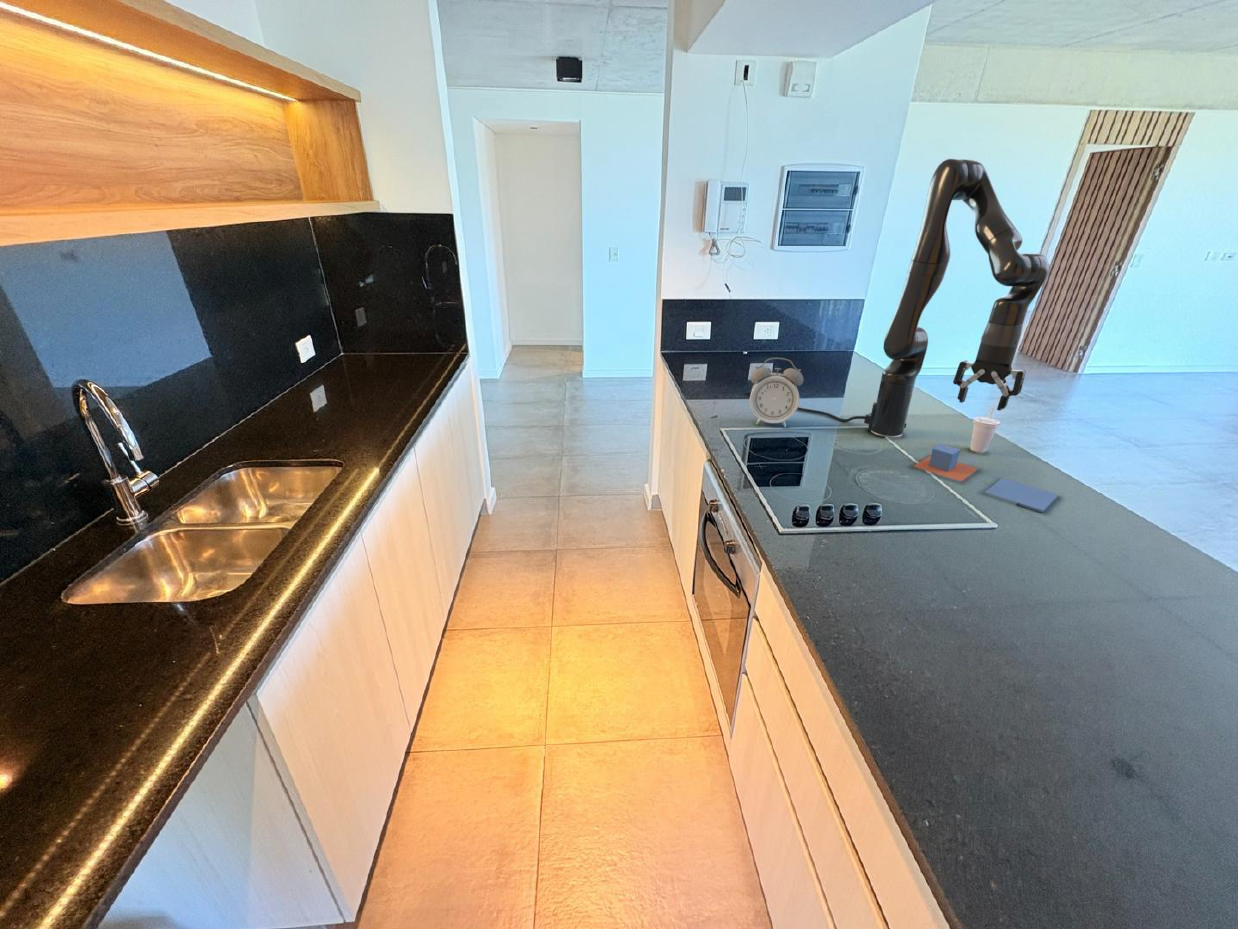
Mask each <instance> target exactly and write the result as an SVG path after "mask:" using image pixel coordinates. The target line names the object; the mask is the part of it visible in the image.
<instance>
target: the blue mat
mask: <svg viewBox="0 0 1238 929" xmlns="http://www.w3.org/2000/svg"><path fill="white" fill-rule="evenodd" d="M984 493H985V494H989V495H992V496H995V497H999V498H1001V499H1005V500H1008V501H1011V502H1014V503H1016V505H1017V506H1020V507H1023V508H1026V509H1029V510H1032V511H1035V512H1039V513H1042V514H1043V513H1044V512H1045V511H1046V510H1047V509H1048V508H1049V507H1050V506H1051V505H1052V504H1053V503H1054V502H1055V501H1056V499H1058V497H1059V494H1056V493H1054V492H1050V491H1046V490H1043V489H1040V488H1036V487H1033V486H1030V485H1026V484H1022V483H1019V482H1016V481H1013V480H1009V479H1007V478H1000V479H999V480H998V481H996V482H995V483H994V484H993V485H991V486H990V487H989V488H988V489H987V490H985V491H984Z"/></svg>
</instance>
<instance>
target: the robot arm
mask: <svg viewBox="0 0 1238 929" xmlns="http://www.w3.org/2000/svg"><path fill="white" fill-rule="evenodd" d="M928 185H929V186H928V188H927V189H928V190H927V194H926V199H925V205H924V209H923V210H924V211H923V216H922V220H921V224H920V228H919V231H918V235H917V239H916V243H915V246H914V249H913V253H912V255H911V258H910V261H909V264H908V268H907V271H906V275H905V280H904V283H903V286H902V290H901V294H900V295H899V299H898V302H897V306H896V309H895V312H894V314H893V316H892V318H891V321H890V324H889V326H888V328H887V332H886V334H885V336H884V340H883V352H884V354H885V355H886V357H887V358H889V360H891V361H890V363H889V364H888V365H887V366H886V367H885V368H884V369H883V370H882V374H881V377H880V383H879V387H878V393H877V397H876V401H874V402H873V403H872V408H871V412H869V413H867V414H865V415H855V416H851V417H849V418H841V417H838V416H836V415H834V414H832V413H830V412H826V411H822V410H817V409H811V408H803V407H799V406H798V408H797V410H796V411H801V412H807V413H813V414H819V415H824V416H826V417H830V418H832V419H835V420H836V421H839V422H843V423H848V422H851V421H853V420H864V421H863V423H864V424H867V425H868V426H867V432H869V433H871V434H872V435H874V436H877V437H880V438H883V439H884V438H900V437H902V436H904V430H905V429H906V427H907V423H906V421H907V418H908V413H909V409H910V406H911V401H912V397H913V392H914V388H915V384H916V379H917V377H918V376H919V374H920V373H921V371H922V368H923V365H924V360H925V358H926V354H927V350H928V346H929V336H928V332H927V331H926V330H925V328H923V327H921V326H919V323H920V319H921V316H922V314H923V312H924V310H925V309H926V307H927V305H928V304H929V303H930V301H931V300H932V299H933V297H934V296H935V294H936V293H937V291H938V290H939V288H940V286H941V285H942V283H943V281H944V278H945V275H946V273H947V269H948V267H949V263H950V260H951V254H952V253H951V252H952V251H951V244H950V240H949V234H948V228H947V227H948V226H947V223H948V216H949V212H950V208H951V205H952V202H953V201H956V202H958V201H962V202H963V203H964V204H965V205H966V206H967V207H968V208H969V209H970V210H971V211H972V213H973V217H974V219H973V231H974V234H975V238H976V240H977V241H978V243H979V244H980V246H981V247H982V249H983V250H984V252H985V253H986V255H987V257H988V263H989V266H990V271H991V275H992V277H993V279H994V280H995V281H996V283H998V284H999V285H1001V286H1003V287H1010V289H1009V291H1008V292H1007V294H1005V295H1003V296H999V297H998V298H996V299H995V300H994V302H993V303H992V306H991V309H990V314H989V315H988V320H987V323H986V325H985V327H984V329H983V333H982V335H981V338H980V343H979V346H978V350H977V353H976V357H975V360H974V362H971V361H968V360H962V361H960V362H959V364H958V367H957V370H956V372H955V375H954V378H953V381H952V383H953V385H957V386H958V387H959V391H958V395H957V401H958V400H959V401H958V402H959V403H961V404H963V403H965V401H966V399H967V394H968V391H969V386H970V385H971V384H972V383H974V382H976V381H977V382H978V383H982V384H983V383H987V384H989V385H991V386H992V385H996V386H997V388H998V389H999V391H1000V393H1001V394H1002V395H1000V399H999V401H998V405H997V407H996V410H997V411H1002V410H1005V408H1006V407H1007V406H1008V403H1009V400H1010V397H1012V396H1014V397H1017V396H1018V395H1020V394H1021V392H1022V389H1023V386H1024V381H1025V377H1026V374H1027V371H1026V370H1025V369H1021V370H1019V369H1013V368H1012V366H1013V363H1014V362H1013V361H1014V359H1015V356H1016V352H1017V349H1018V346H1019V342H1020V339H1021V336H1022V332H1023V326H1024V324H1025V319H1026V317H1027V314H1028V310H1029V307H1030V305H1031V304H1032V302H1033V301H1034V299H1036V296H1037V295H1038V293H1039V292H1040V289H1041V288H1042V286H1043V285H1044V283H1045V281H1046V279H1047V277H1048V274H1049V266H1050V264H1049V260H1048V258H1047V257H1046V256H1045V255H1043V254H1042V253H1020V252H1019V251H1018V250H1020V248H1021V246H1022V245H1023V237H1022V235H1021V233H1020V231H1018V229H1017V228H1016V226H1015V225H1014V223H1013V222H1012V221H1011V219H1010V218H1009V217H1008V215H1007V213H1006V212H1005V211H1004V209H1003V206H1002V204H1001V202H1000V201H999V198H998V196H997V194H996V191H995V189H994V187H993V184H992V182H991V179H990V177H989V174H988V172H987V170H986V168H985V166H984V165H983V164H982V162H980V161H979V160H974V159H964V158H947V159H945V160H943V161H941V162H940V163H939V164H938V165H937V166H936V168H935V170H934V172H933V173H932V176H931V178H930V181H929V184H928ZM970 368H971V371H972V374H973V375H972V376H970V377H968V378H967V379H966V380H965V381H964V379H963V378H964V376H965V372H966V371H968V370H969V369H970ZM1010 375H1012V379H1013V380H1014V384H1013V386H1012V389H1011V388H1010V386H1009V382H1008V380H1007V377H1009V376H1010ZM746 394H747V395H749V396H750V395H751V391H746Z"/></svg>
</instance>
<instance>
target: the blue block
mask: <svg viewBox="0 0 1238 929" xmlns="http://www.w3.org/2000/svg"><path fill="white" fill-rule="evenodd" d="M960 453H961V449H960V448H955V447H952V446H949V445H945V444H938V445H937V446H934V447H933V448H932V451H931V454H930V456H931V458H930V462H929V466H932V467H935V468H938V469H941V470H945V471H950V470H951V469H953V468H954V467H956V463H957V462H958V460H959V457H960Z"/></svg>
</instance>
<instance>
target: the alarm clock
mask: <svg viewBox="0 0 1238 929" xmlns="http://www.w3.org/2000/svg"><path fill="white" fill-rule="evenodd" d="M771 360H782V361H787V362H789V363H790V364H791V365H792V367H789V368H786V369H784V370H783V372H782V373H780V372H779V371H781V370H782V368H781V367H775V368H774V370H775V371H776V372H773V371H772V369H771V368H770V367H768V366H764V365H765V364H766V363H767V362H768V361H771ZM754 367H755V369H754V370H753V371H752V372H751V374H750V382H751V384H753V385H752V387H751V391H750V392H751V395H749V406H750V410H751V412H752V413H753V415H754V416H755V417H756V418H757V421H756V423H755V424H756V425H758V424H759V423H761V421H762V422H764V423H768V424H781V423H782V425H783V426H784V428H787V424H786V421H788V420H789V419H791V418H792V417H793V416H794V415H795V413H796V412H797V411H798V410H797V408H798V407H799V405H800V393H799V389H798V387H801V386H802V385H803V383H804V376H803V374H802V373H801V371H802V369H801V368H799V369H798V368H797V367H795V365H794V362H793V361H792V360H790V359H788V358H785V357H770V358H767V359H765V360H764V362H763V363H762V364H761V365H759V366H757V365H756V366H754Z"/></svg>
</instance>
